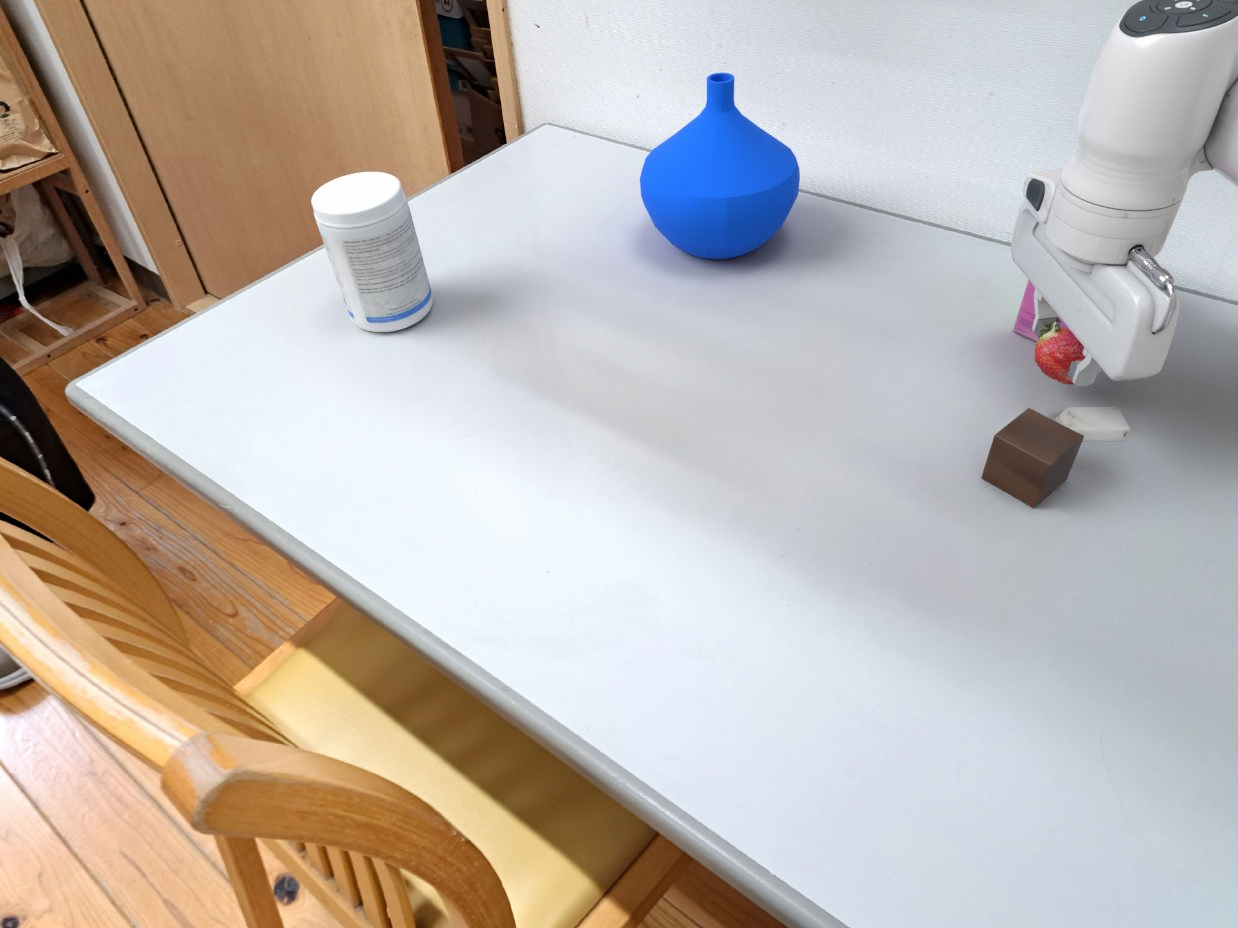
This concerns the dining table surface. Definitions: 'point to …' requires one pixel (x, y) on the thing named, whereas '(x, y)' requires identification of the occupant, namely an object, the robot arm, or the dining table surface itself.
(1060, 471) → the walnut block
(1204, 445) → the dining table surface
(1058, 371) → the fruit
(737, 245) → the vase
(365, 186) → the supplement tub
